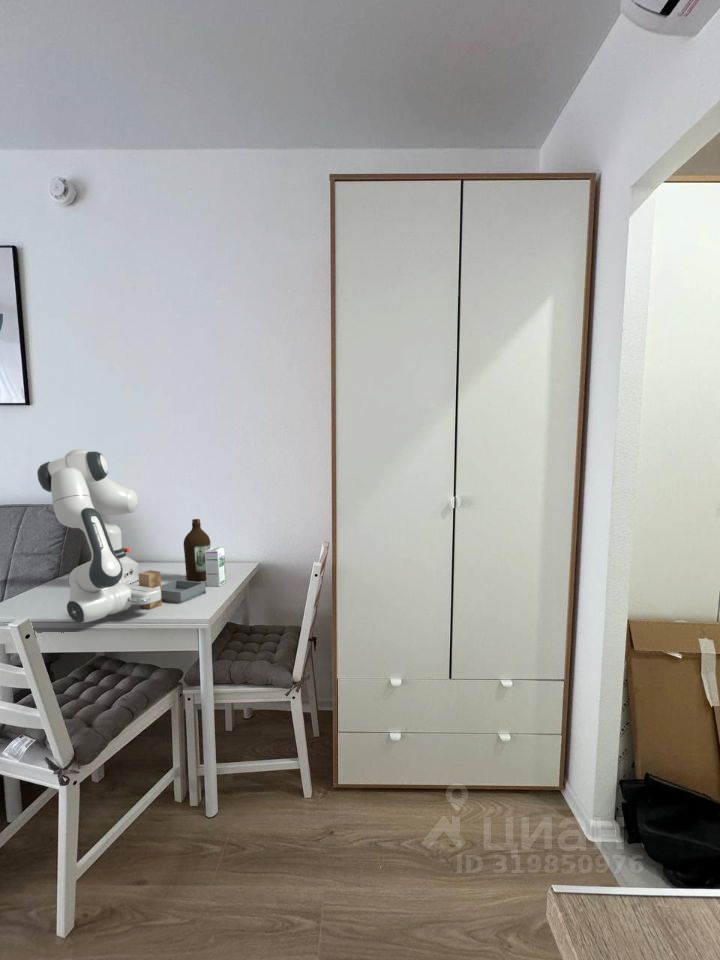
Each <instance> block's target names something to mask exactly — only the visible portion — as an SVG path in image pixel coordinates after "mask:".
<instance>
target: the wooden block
mask: <svg viewBox="0 0 720 960" xmlns="http://www.w3.org/2000/svg"><path fill="white" fill-rule="evenodd" d="M161 577H162V576H161V571H158V570H157V571H156V570H147V571H142V572H140V573H139V580H138V585H139V586H143V587H149V588H153V587H155V586H160V590H161V585H162V581H161V580H162V579H161ZM139 606H140V607H139V608H142V609H146V610H152V609H155V608H159V607H161V606H163V601H162V597H161V599H160V600H159V601H156V602H153V603H149V604H143V605H141V604H139Z"/></svg>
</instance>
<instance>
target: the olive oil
mask: <svg viewBox="0 0 720 960" xmlns="http://www.w3.org/2000/svg"><path fill="white" fill-rule="evenodd" d="M191 521H192V523H191V526H192V527H191V529H190V531H189V532H188V533H187V534H186V535H185V537H184V539H183V543H182V544H183V553H184V563H185V577H186V581H194V582H201V581H202V582H207V581H206V563H205V551H206V550H208V549H210V548H211V540H210V536H209V535H208V534H207V533H206V532H205V531H204V529H202V526H201V519H200V518H194V519H193V518H192V519H191Z"/></svg>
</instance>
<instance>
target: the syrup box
mask: <svg viewBox="0 0 720 960" xmlns="http://www.w3.org/2000/svg"><path fill="white" fill-rule="evenodd" d="M225 559H226V558H225V548H224V547H219V546H217V547H210V549H208V550H206V551H205V563H206V581H205V582H206V586H207V587H214V586H215V587H217V588H218V587H220V588H221V586H222V585H224V584H226V583H227V580H226V579H227V577H226V560H225ZM215 587H214V588H215Z"/></svg>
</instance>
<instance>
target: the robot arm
mask: <svg viewBox="0 0 720 960" xmlns="http://www.w3.org/2000/svg"><path fill="white" fill-rule="evenodd" d="M108 471H109V466H108V461H107V459H106V458H105V456H104V455H103V453H101V452H98V451H86V450H84V449H80V448H79V449H78V448H77V449H72V450H70V451H69V452H68V453H66V454H65V456H64V457H61V458H58V459H55V460H52V461H47V462H44V463H42V464H40V466H39V467H38V469H37V480H38V483H39V484H40V486H41V488H42V489H43V490H44V491H46V492H48V493H51V500H52V507H53V511H54V515H55V517H56V520H57V521H58V522H59V524H62V525H63V526H66V527H68V528H72V529H80V530H81V531H82V532H83V533H84V536H85V539H86V541H87V544H88V546H89V550H90V560H89V561H87V562H85V563H83V564H80V565H79V566H76V567H75V568H73V569H72V570H71V571H70V572H69V574H68V578H67V581H68V586H69V589H70V591H69V599H68V601H67V604H66V610H67V614H68V615H69V617H70V618H71V620H73V621H74V622H77V623H80V624H81V623H83V624H84V623H90V622H93V621H97V620H100V619H104V618H105V617H106V616H108V615H114V614H117V613H120V612H123V611H126V610H128V609H129V608H130V607H131V606H132V604H135V605H140V604H141V605H143V604H149V603H153V602H156V601H159V600H160V599H161V590H160V586H155V587H153V588H149V587H143V586H139V584H133V583H132V582H134V583H136V582H138V581H139V573H141V568H140V567H141V566H140V565H139V563H138V562H137V561H136V560H134V559H132V558H130V557H129V556H127V554H126V553H130V552H131V551H132V548H131V547H126V546H125V547H123V539H122V537H123V536H122V530H121V528H120V526H118V525H117V524H115V523H112V522H111V521H110V519H108V516H123V515H126V514H127V515H128V514H131V513H134V512H135V511H136V510H137V508H138V505H139V503H140V502H139V496H138V493H137V492H136V491H135V490H134V489H132V488H129V487H126V486H123V485H121V484H120V483H118V482H116V481H114V480H113V479H111V478H110V477H108V474H109V473H108ZM137 580H138V581H137ZM135 581H136V582H135ZM130 583H131V584H130Z"/></svg>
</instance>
